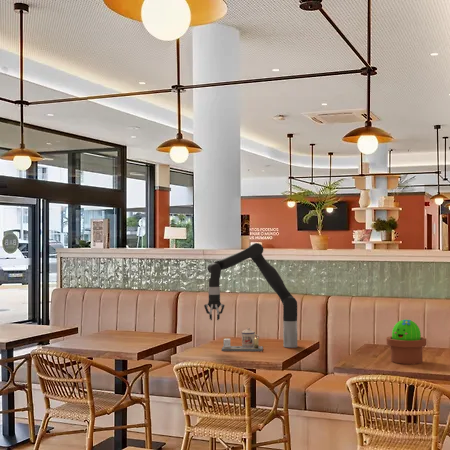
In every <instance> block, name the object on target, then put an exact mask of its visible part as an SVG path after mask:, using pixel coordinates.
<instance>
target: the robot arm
mask: <svg viewBox="0 0 450 450" xmlns="http://www.w3.org/2000/svg"><path fill="white" fill-rule="evenodd" d="M263 253H264V246H263V245H262V244H261V243H258V242H253V243H252V244H250V245H249V246H248V247H247V248H245V249H243V250H241V251H239V252H236V253H234V254H231V255H229V256H226V257H224V258H222V259H219V260H216V261H214V262H211V263H210V264H208V265H207V268H206V269H207V272H208V273H209V274H210V278H209V279H208V291H207V293H208V302H207V304H204V305H203V307H204V309H205V312H206V314H208V315H209V320H210V321H213V314H212V313H213V310H216V311H215V312H216V316H217V317H216V321H219V320H220V315H221V314H223V312H224V309H225V306H226V305H225V304H222V303H221V287H220V285H221V283H220V279H221V272H222V271H223V270H226V269H229V268H231V267H234V266H236V265H238V264H240V263H242V262H244V261H245V260H249V259H251V261H253V263H254V264H255V265H256V267H257V269H259V270H258V271H260V273H261V274H262V276H263V278H264V279H265V281H266V282H267V284H268V285H269V286H270V287H271V288H272V290H273V291H274V292H275V293H276V294H277V296H278V297H279V300H280V301H281V303H282V307H283V308H282V309H283V311H282V313H283V315H282V319H283V321H282V323H283V324H282V325H283V327H282V328H283V330H282V331H283V334H282V335H283V338H282V339H283V347H284V348H290V349H291V348H293V349H294V348H298V301H297V300H296V298H295V297H294V296H293V295H292V294H291V292H290V290H288V289H287V287H286V284H285V283H284V281H283V279H282V277H281V275H280V274H279V272H278V271H277V270H276V268H275V267H274V266H272V265H271V263H269V262H268V261H267V260H266V258H265V257H264V255H263ZM208 307H209V308H210V309H208ZM220 308H221V309H220Z"/></svg>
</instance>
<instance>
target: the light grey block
mask: <svg viewBox="0 0 450 450" xmlns="http://www.w3.org/2000/svg"><path fill="white" fill-rule="evenodd" d="M223 346H224V348H230V346H231V338H223Z"/></svg>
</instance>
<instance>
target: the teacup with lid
mask: <svg viewBox="0 0 450 450" xmlns="http://www.w3.org/2000/svg"><path fill="white" fill-rule="evenodd" d="M255 336H256V337H255ZM254 338H258V341H259V339H260V335H258V334H256V331H254V330H252V329H250V327H247V328H246V329H244V330H242V331H241V346H254Z"/></svg>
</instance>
